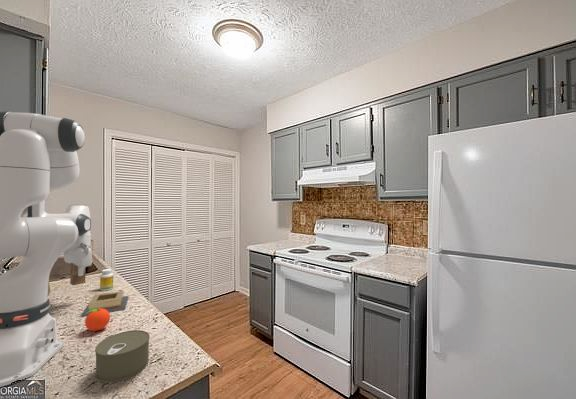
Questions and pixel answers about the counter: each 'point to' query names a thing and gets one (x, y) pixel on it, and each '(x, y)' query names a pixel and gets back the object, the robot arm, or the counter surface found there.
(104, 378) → the can
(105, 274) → the supplement bottle
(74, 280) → the peg
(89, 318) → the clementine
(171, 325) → the counter surface
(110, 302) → the collar
